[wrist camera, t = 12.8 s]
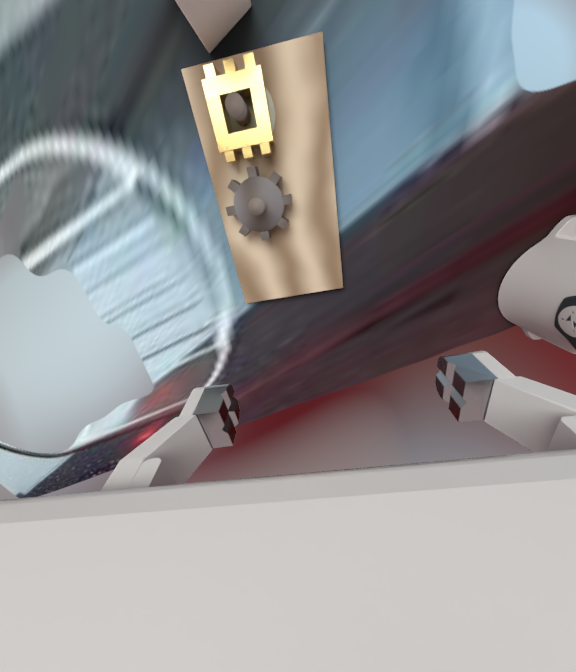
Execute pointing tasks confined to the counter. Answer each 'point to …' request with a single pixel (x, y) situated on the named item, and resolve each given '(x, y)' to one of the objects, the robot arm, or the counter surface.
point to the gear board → (278, 175)
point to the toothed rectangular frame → (246, 86)
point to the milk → (213, 18)
